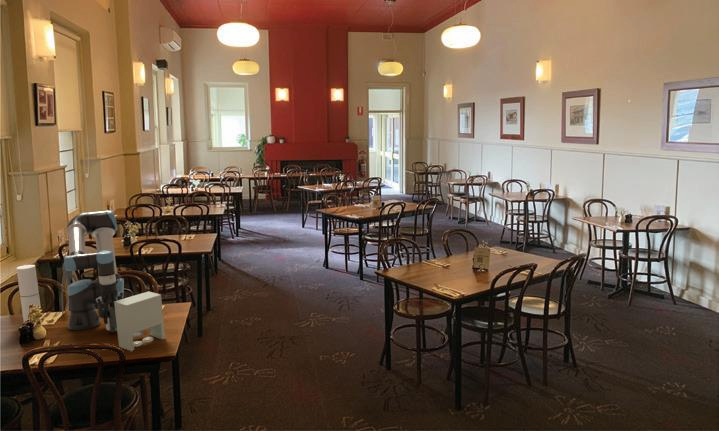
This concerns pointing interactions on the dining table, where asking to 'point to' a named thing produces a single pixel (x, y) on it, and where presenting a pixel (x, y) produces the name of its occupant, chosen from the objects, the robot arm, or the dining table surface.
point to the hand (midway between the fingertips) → (112, 328)
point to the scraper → (114, 325)
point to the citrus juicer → (68, 277)
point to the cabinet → (139, 317)
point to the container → (28, 288)
